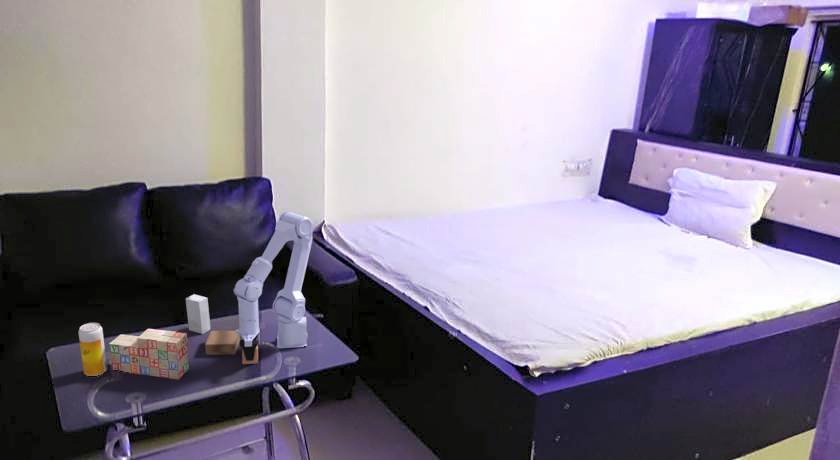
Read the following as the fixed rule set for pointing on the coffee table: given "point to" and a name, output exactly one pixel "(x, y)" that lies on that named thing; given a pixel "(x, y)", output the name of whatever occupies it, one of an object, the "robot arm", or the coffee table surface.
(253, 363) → the terracotta cube
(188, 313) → the skincare box
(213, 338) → the walnut block
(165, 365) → the stack of blocks
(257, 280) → the robot arm
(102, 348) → the beer can
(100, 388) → the coffee table surface
